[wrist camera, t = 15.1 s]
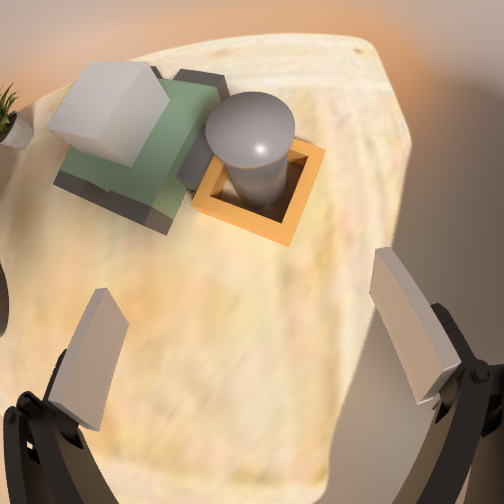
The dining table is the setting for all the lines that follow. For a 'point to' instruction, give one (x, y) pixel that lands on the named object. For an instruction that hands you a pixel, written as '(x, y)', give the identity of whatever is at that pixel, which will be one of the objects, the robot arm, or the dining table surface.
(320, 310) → the dining table surface
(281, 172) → the grey flared cylinder
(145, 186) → the green corner-block plate
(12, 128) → the house plant
